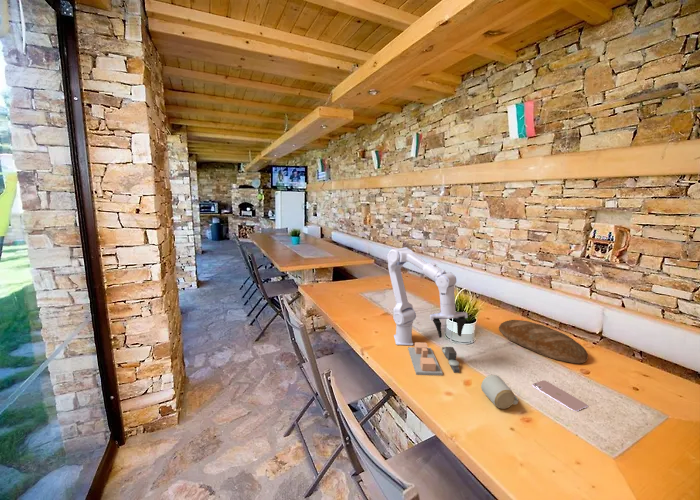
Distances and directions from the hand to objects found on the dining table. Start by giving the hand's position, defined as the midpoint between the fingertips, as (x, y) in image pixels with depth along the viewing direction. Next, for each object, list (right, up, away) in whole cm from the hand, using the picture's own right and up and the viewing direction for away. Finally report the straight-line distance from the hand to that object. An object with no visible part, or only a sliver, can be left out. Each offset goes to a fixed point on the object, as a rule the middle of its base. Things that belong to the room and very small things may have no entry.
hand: (449, 336), depth 119 cm
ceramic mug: (+10, -16, -21) cm, 28 cm away
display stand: (-10, -11, +3) cm, 15 cm away
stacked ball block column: (+1, -11, +3) cm, 12 cm away
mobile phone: (+32, -16, -17) cm, 39 cm away
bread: (+48, -10, +19) cm, 52 cm away
